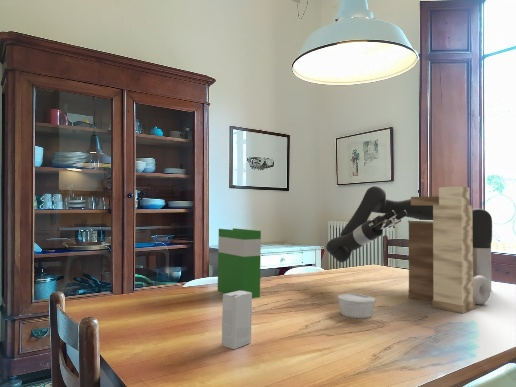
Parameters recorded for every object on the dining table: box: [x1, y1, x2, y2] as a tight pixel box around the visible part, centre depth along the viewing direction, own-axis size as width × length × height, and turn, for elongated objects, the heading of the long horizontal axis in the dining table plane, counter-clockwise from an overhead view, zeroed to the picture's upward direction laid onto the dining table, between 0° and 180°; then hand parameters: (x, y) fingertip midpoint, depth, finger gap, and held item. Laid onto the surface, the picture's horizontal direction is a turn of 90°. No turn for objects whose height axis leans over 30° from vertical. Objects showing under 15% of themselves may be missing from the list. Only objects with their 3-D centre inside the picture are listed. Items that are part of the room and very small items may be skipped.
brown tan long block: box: [410, 186, 471, 206], centre depth 135 cm, size 7×18×6 cm, turn 41°
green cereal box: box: [217, 227, 262, 299], centre depth 147 cm, size 18×7×24 cm, turn 36°
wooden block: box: [431, 205, 476, 314], centre depth 130 cm, size 10×10×34 cm
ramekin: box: [337, 293, 376, 319], centre depth 120 cm, size 11×11×5 cm
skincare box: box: [221, 291, 253, 350], centre depth 92 cm, size 6×4×12 cm
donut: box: [473, 275, 491, 306], centre depth 135 cm, size 10×3×10 cm, turn 120°
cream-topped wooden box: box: [407, 219, 433, 301], centre depth 146 cm, size 12×13×28 cm
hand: (400, 212), depth 145 cm, fingers open, 8 cm apart
